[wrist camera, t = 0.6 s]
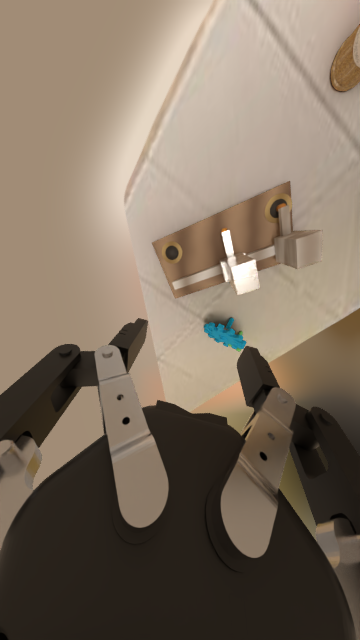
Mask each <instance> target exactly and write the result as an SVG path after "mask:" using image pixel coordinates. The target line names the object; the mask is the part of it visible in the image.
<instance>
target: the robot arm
mask: <svg viewBox="0 0 360 640" xmlns="http://www.w3.org/2000/svg"><path fill="white" fill-rule="evenodd" d="M147 324H148V321H147V320H144V319H140V318H138V319H137V320H136V322H135V323H128V324H126V325H124V327H123V328H122V329H121V330H120V331H119V333H118V334H117V335H116V336H115V337H114V339H113V340H112V341H111V342H110V343H109V344H108V345H105V346H102V347H100V348H98V349H97V350H96V351H80V348H79V347H78V346H77V345H74V344H65V345H61V346H58V347H56V348H55V349H53V350H52V351H51V352H50V353H49V354H47V355H46V356H45V357H44V358H43V359H42V360H41V361H39V362H38V363H37V364H36V365H35V366H34V367H32V368H31V369H30V370H29V371H28V372H27V373H25V374H24V375H23V376H22V377H21V378H20V379H19V380H17V381H16V382H15V383H14V384H13V385H11V386H10V387H9V388H8V389H7V390H6V391H5V392H4V393H2V394H1V395H0V549H1V550H0V640H360V456H359V455H358V453H357V451H356V450H355V448H354V447H353V445H352V444H351V442H350V441H349V439H348V438H347V436H346V435H345V433H344V432H343V430H342V429H341V427H340V426H339V424H338V423H337V421H336V420H335V419H334V418H333V417H332V416H331V415H330V414H329V413H327V412H326V411H325V410H323V409H321V408H319V407H312V408H311V409H310V410H307V409H305V408H303V407H301V406H299V405H297V404H296V403H295V401H294V399H293V398H292V397H291V395H290V394H288V393H287V392H286V391H285V390H283V389H281V388H280V387H279V385H278V383H277V380H276V378H275V376H274V375H273V373H272V370H271V369H270V366H269V364H268V362H267V361H266V360H265V359H264V358H263V357H262V356H260V353H259V351H258V349H257V348H253V347H249V346H246V347H245V348H244V350H243V352H242V354H241V355H240V357H239V359H238V362H237V369H238V373H239V377H240V381H241V385H242V389H243V393H244V397H245V401H246V405H247V406H249V407H253V408H254V411H253V413H252V414H251V416H250V418H249V419H248V421H247V423H246V425H245V426H244V428H243V430H242V431H241V433H240V434H239V433H238V432H237V431H236V430H235V429H234V428H232V427H231V426H229V425H228V424H227V418H226V417H222V416H218V415H214V414H210V413H204V414H203V413H202V414H201V413H200V414H192V413H190V412H188V411H186V410H184V409H182V408H180V407H179V406H177V405H175V404H171V403H168V402H163V401H160V400H158V401H157V404H156V405H155V406H147V407H143V408H141V405H140V402H139V399H138V396H137V393H136V390H135V387H134V384H133V381H132V378H131V376H130V374H129V373H128V372H129V370H130V368H131V366H132V364H133V363H134V361H135V359H136V357H137V355H138V353H139V351H140V349H141V348H142V346H143V344H144V342H145V338H146V332H147ZM83 386H97V387H98V394H99V401H100V407H101V415H102V424H103V431H104V435H103V436H102V437H100V438H99V439H98V440H96V441H95V442H94V443H92V444H91V445H90V446H89V447H87V448H86V449H84V450H83V451H82V452H80V453H79V454H78V455H77V456H75V457H74V458H73V459H71V460H70V461H69V462H67V463H66V464H65V465H63V466H62V467H61V468H60V469H58V470H57V471H55V472H54V473H53V474H51V475H50V476H49V477H47V478H46V479H45V480H44V481H43V482H42V483H41V484H40V485H39V486H38V487H37V488H36V489H35V490H33V480H34V477H35V475H36V473H37V471H38V469H39V467H40V464H41V461H42V454H41V452H40V450H39V447H40V445H41V444H42V443H43V441H44V440H45V438H46V437H47V436H48V434H49V433H50V431H51V430H52V428H53V427H54V426H55V424H56V423H57V421H58V420H59V418H60V417H61V416H62V414H63V413H64V411H65V410H66V408H67V407H68V406H69V404H70V403H71V401H72V400H73V399H74V397H75V396H76V394H77V393H78V392H79V390H80V389H81V387H83ZM318 446H320V447H321V449H322V451H323V453H324V455H325V457H326V459H327V461H328V471H326V469H325V467H324V465H323V463H322V461H321V459H320V457H319V454H318V452H317V450H316V447H318ZM289 449H290V452H291V455H292V458H293V460H294V463H295V466H296V469H297V472H298V474H299V477H300V480H301V483H302V486H303V489H304V491H305V494H306V497H307V500H308V503H309V506H310V509H311V511H312V514H313V517H314V520H315V522H316V526H317V527H316V539H317V542H316V540H315V539H314V537H313V536H312V535H311V533H310V532H309V530H308V529H307V527H306V526H305V525H304V523H303V522H302V520H301V519H300V517H299V516H298V515H297V513H296V512H295V510H294V509H293V507H292V506H291V505H290V503H289V502H288V501H287V499H286V497H285V496H284V495H283V493H282V492H281V491H280V489H279V484H280V481H281V477H282V473H283V469H284V465H285V462H286V458H287V454H288V450H289Z"/></svg>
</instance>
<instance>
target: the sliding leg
mask: <svg viewBox="0 0 360 640" xmlns="http://www.w3.org/2000/svg"><path fill="white" fill-rule="evenodd" d="M221 235H222V239H223V243H224V248H225V252H226V256H227V258H224V259H221V260H219V261H220V265H221V269H222V273H223V277H224V280H225V281H226V282H227V281H229V283H230V285H231V286H232V288H233V289H234V291H235V292H236V294H237V295H240V294H244V293H247V292H250V291H253V290H257V289H260V286H259V279H258V273H257V267H256V260H255V259H253V258H251V257H249V256H247V255H245V253H243V252H240V253H237V254H235V255H234V251H233V247H232V242H231V237H230V232H229V230H227V228H223V229H222V230H221Z"/></svg>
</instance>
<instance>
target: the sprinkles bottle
mask: <svg viewBox="0 0 360 640" xmlns="http://www.w3.org/2000/svg"><path fill="white" fill-rule="evenodd" d="M331 82H332V85H333V87H334V88H335V89H336V90H338V91H347V90H349V89H351V88H353V87H354V86H356V85H357V84H358V83H359V82H360V24H359V26H358V27H357V28H356V29H355V31H354V32H353V33H352V34H351V36H349V37H348V38H347V39H346V40H345V42H344V43H343V45H342V46H341V48H340V49H339V51H338V53H337V55H336V57H335V60H334V62H333V65H332V68H331Z"/></svg>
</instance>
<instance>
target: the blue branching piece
mask: <svg viewBox="0 0 360 640" xmlns="http://www.w3.org/2000/svg"><path fill="white" fill-rule="evenodd" d="M233 322H234V319H233V318H230V320H229V322H228V324H227V326H226V328H224V327H225V326H224V325H222V324H218V326H217V328H216V327H215V324H214V323H212V322H210V323H209V324H205V326H204V328H205V330H204V332H206V333H209V334H208V336H209V337H211V338H215V341H216V342H218V343H219V342H224V343H223V345H224V346H226V347H228V345H229V346H231V347H232V348H234V349H236V350H237V351H239V352H240V351H241V349H243V348H244V346H245V344H246V341H244V340H243V336H242V333H243V332H241V331H240V332H239V334H238V335H236V334H234V333H235V331H234V330H233V329H232V328H231V326H232V324H233Z"/></svg>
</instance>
